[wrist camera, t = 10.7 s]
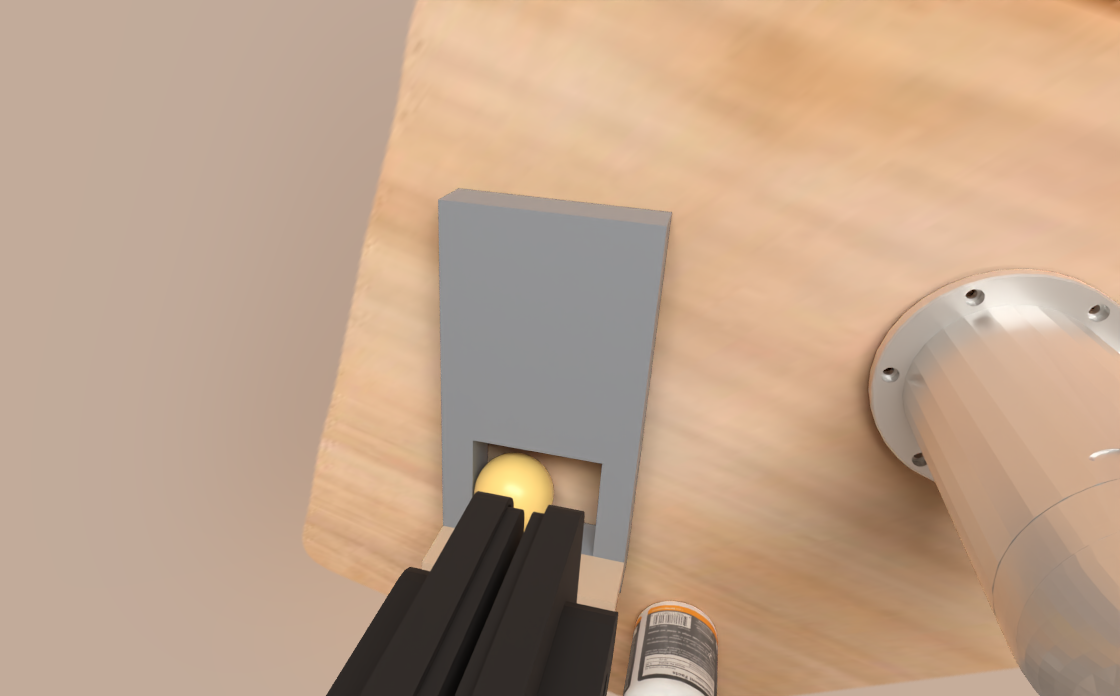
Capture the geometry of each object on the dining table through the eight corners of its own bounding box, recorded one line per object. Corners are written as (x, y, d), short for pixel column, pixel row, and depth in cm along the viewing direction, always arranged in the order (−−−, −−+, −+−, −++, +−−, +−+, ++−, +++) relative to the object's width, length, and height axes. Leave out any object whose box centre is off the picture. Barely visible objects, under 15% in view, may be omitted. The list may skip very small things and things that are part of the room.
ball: (550, 515, 47) (558, 445, 46) (548, 552, 42) (556, 474, 41) (476, 508, 47) (482, 438, 46) (466, 544, 42) (472, 466, 41)
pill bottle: (687, 671, 50) (677, 807, 41) (620, 629, 50) (595, 757, 41) (735, 626, 47) (735, 761, 39) (664, 582, 47) (648, 708, 38)
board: (671, 212, 37) (660, 245, 31) (626, 561, 47) (611, 634, 41) (458, 188, 39) (410, 215, 33) (459, 527, 49) (422, 592, 43)
